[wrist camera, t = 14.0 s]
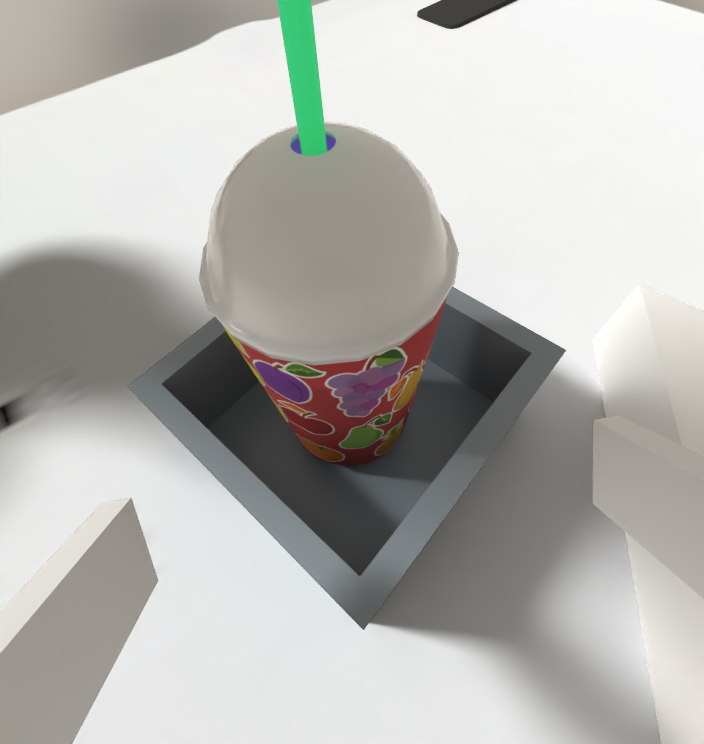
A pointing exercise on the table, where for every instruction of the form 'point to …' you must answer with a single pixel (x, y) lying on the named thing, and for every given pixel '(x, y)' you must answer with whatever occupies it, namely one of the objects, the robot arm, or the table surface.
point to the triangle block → (687, 428)
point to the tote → (358, 482)
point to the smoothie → (329, 269)
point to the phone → (459, 11)
